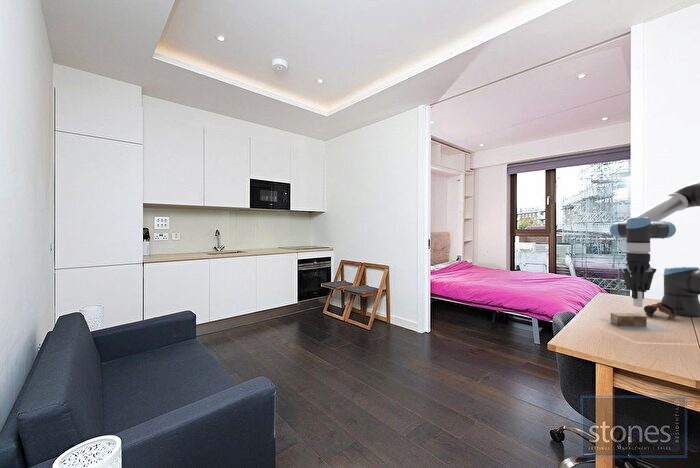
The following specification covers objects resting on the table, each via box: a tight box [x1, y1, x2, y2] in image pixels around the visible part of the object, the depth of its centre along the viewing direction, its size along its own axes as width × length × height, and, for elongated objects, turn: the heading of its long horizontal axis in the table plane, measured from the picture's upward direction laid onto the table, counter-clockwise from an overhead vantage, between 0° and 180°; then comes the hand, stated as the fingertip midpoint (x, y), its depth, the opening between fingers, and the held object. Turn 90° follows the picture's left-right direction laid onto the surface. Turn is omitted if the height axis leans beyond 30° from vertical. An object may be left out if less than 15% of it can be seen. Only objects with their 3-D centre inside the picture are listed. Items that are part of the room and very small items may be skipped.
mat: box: [597, 317, 673, 332], centre depth 131 cm, size 18×16×1 cm
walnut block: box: [610, 312, 648, 327], centre depth 130 cm, size 4×4×11 cm
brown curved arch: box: [643, 301, 677, 320], centre depth 141 cm, size 12×10×8 cm
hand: (637, 306), depth 129 cm, fingers closed
